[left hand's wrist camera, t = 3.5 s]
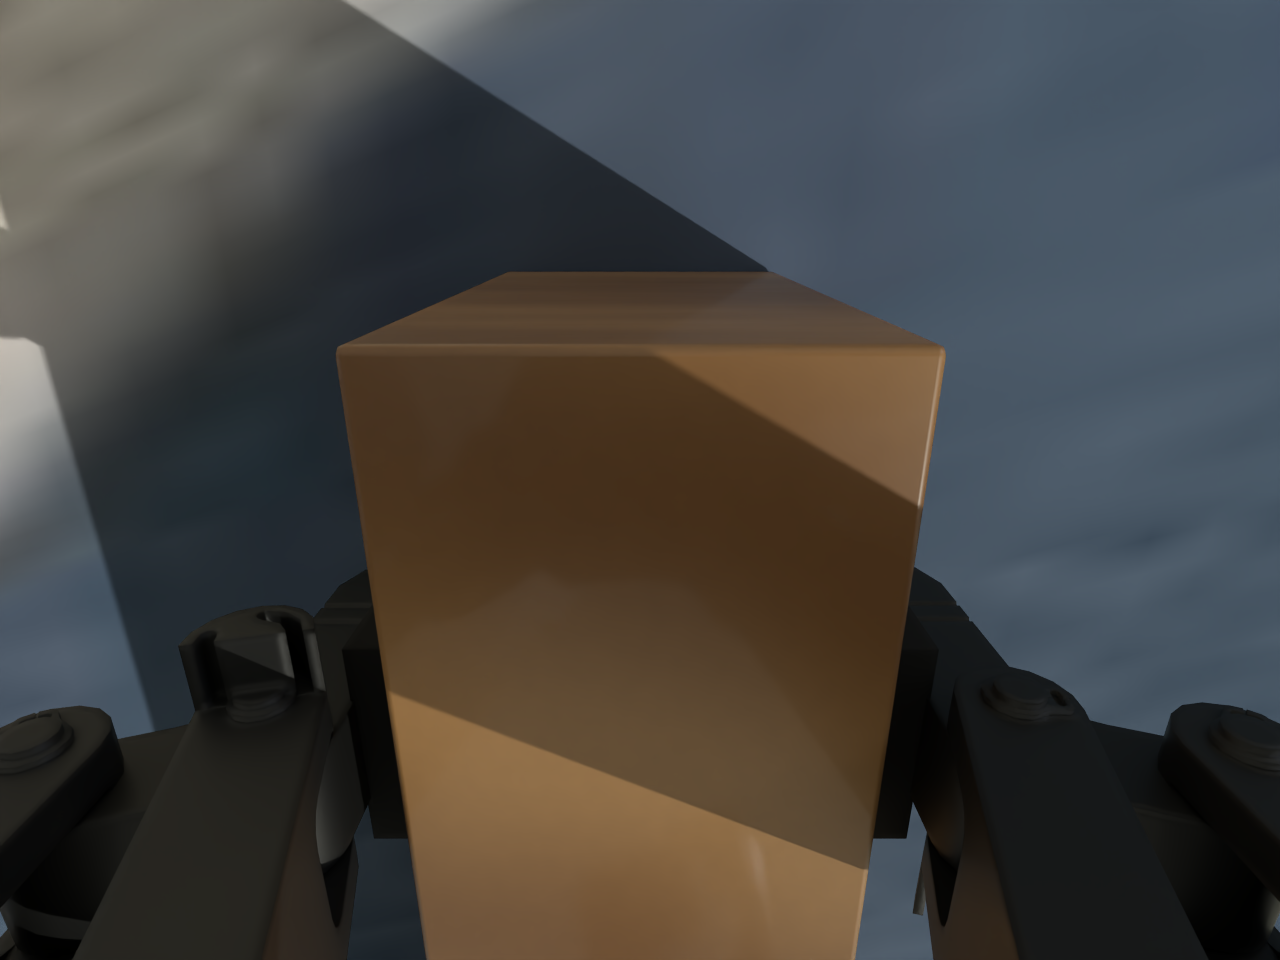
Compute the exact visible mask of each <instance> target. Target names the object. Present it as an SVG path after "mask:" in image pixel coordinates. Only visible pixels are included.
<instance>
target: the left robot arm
mask: <svg viewBox="0 0 1280 960" xmlns="http://www.w3.org/2000/svg"><path fill="white" fill-rule="evenodd" d="M178 647H179V651H180V655H181V658H182V662H183V666H184V670H185V673H186V677H187V681H188V685H189V688H190V692H191V696H192V700H193V704H194V707H195V713H194V715H193V717H192V719H191V721H190V723H189V724H187V725H183V726H179V727H176V728H171V729H166V730H161V731H156V732H151V733H146V734H141V735H136V736H131V737H126V738H121V739H117V735H116V732H115V729H114V726H113V723H112V720H111V717H110V716H109V715H107V714H106V713H105V712H104V711H102V710H101V709H100V708H93V707H85V706H73V707H65V708H56V709H49V710H45V711H40V712H39V713H37V714H35V713H33V714H30V715H27V716H24V717H21V718H19V719H17V720H16V721H14V722H12V723H10V724H8V725H6V726H4V727H1V728H0V912H1V914H2V916H3V919H4V921H5V923H6V926H7V928H8V929H7V931H6V932H5V933H4V934H3V935H2V936H1V937H0V960H347V953H348V945H349V938H350V930H351V922H352V914H353V906H354V898H355V890H356V883H357V875H358V867H359V866H358V859H357V851H356V846H355V840H354V834H355V831H356V829H357V827H358V825H359V823H360V821H361V818H362V816H363V814H364V812H365V810H366V808H367V805H368V806H369V812H370V817H371V823H372V829H373V835H374V838H408V835H407V828H406V822H405V815H404V808H403V802H402V795H401V788H400V782H399V775H398V768H397V762H396V755H395V748H394V742H393V735H392V728H391V722H390V715H389V708H388V702H387V695H386V688H385V682H384V675H383V668H382V662H381V655H380V648H379V642H378V635H377V628H376V622H375V615H374V608H373V602H372V595H371V588H370V582H369V575H368V570H364V571H363V572H361V573H360V574H358V575H356V576H355V577H353V578H351V579H350V580H348V581H347V582H345V583H343V584H342V585H340V586H339V587H338V589H337V590H336V591H335V592H334V593H333V595H332V596H331V597H330V598H329V600H328V601H327V602H326V603H325V607H324V608H321V610H320V611H319V612H318V613H317V615H316V616H315V617H314V618H313V617H312V616H311V615H310V614H308V613H307V612H306V611H304V610H303V609H300V608H295V607H290V606H285V605H281V606H260V607H255V608H250V609H245V610H240V611H236V612H233V613H230V614H227V615H225V616H222V617H219V618H217V619H214V620H211V621H210V622H208V623H206V624H205V625H203V626H201V627H200V628H198V629H196V630H194V631H193V632H191V633H190V634H189V635H188V636H187V637H186V638H185V639H184V640H183V641H182V642H181V644H180V645H179V646H178ZM912 803H914V805H915V807H916V809H917V811H918V814H919V816H920V818H921V820H922V822H923V824H924V827H925V829H926V831H927V835H926V840H925V846H924V851H923V856H922V862H921V867H920V873H919V878H918V883H917V889H916V894H915V901H914V908H913V913H914V914H918V915H923V911H924V906H925V901H926V904H927V912H928V920H929V928H930V936H931V944H932V951H933V959H934V960H1280V932H1279V931H1278V930H1277V929H1276V928H1275V927H1274V925H1275V923H1276V920H1277V918H1278V916H1279V913H1280V724H1279V723H1277V722H1275V721H1272V720H1270V719H1268V718H1267V717H1265V716H1264V715H1261V714H1259V713H1256V712H1253V711H1250V710H1246V711H1245V710H1243V708H1239V707H1234V706H1229V705H1219V704H1211V703H1195V704H1187V705H1182V706H1180V707H1179V708H1178V709H1176V710H1175V711H1174V712H1173V713H1171V716H1170V719H1169V722H1168V725H1167V728H1166V731H1165V734H1164V736H1161V735H1156V734H1151V733H1146V732H1141V731H1136V730H1131V729H1126V728H1121V727H1116V726H1111V725H1106V724H1102V723H1098V722H1094V721H1090V720H1089V718H1088V716H1087V714H1086V712H1085V710H1084V709H1083V707H1082V706H1081V705H1080V704H1079V702H1078V701H1077V700H1076V699H1075V698H1074V696H1073V695H1072V694H1070V693H1069V692H1067V691H1066V690H1064V689H1063V688H1062V687H1060V686H1059V685H1057V684H1056V683H1054V682H1053V681H1050V680H1048V679H1046V678H1043V677H1041V676H1039V675H1036V674H1034V673H1032V672H1029V671H1025V670H1021V669H1016V668H1012V667H1009V666H1008V665H1007V664H1006V662H1005V661H1004V660H1003V659H1002V657H1001V656H1000V655H999V654H998V653H997V651H996V650H995V649H994V648H993V646H992V645H991V644H990V643H989V642H988V640H987V639H986V638H985V637H984V635H983V634H982V633H981V632H980V630H979V629H978V628H977V627H976V626H975V624H974V623H973V622H972V621H969V617H968V616H967V614H966V613H965V612H964V611H963V610H962V608H961V607H960V606H957V605H956V601H955V600H954V599H953V597H952V596H951V595H950V594H949V592H948V591H947V590H946V589H945V587H944V586H943V585H942V584H941V583H940V582H938V581H936V580H935V579H933V578H932V577H930V576H928V575H927V574H925V573H923V572H922V571H920V570H918V569H917V568H915V567H914V570H913V577H912V583H911V590H910V596H909V603H908V610H907V616H906V623H905V630H904V636H903V643H902V649H901V656H900V663H899V669H898V676H897V683H896V689H895V696H894V702H893V709H892V716H891V722H890V729H889V736H888V742H887V749H886V755H885V762H884V769H883V775H882V782H881V789H880V795H879V802H878V808H877V815H876V822H875V828H874V835H873V838H894V839H906V838H907V832H908V826H909V820H910V814H911V809H912Z"/></svg>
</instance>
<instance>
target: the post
mask: <svg viewBox="0 0 1280 960" xmlns="http://www.w3.org/2000/svg"><path fill="white" fill-rule="evenodd" d="M945 358H946V354H945V349H944V347H943V346H941V345H938V344H936V343H934V342H932V341H929V340H927V339H925V338H922V337H920V336H918V335H915V334H913V333H911V332H909V331H906V330H904V329H902V328H899V327H897V326H895V325H893V324H890V323H888V322H886V321H883V320H881V319H879V318H877V317H874V316H872V315H870V314H867V313H865V312H863V311H860V310H858V309H856V308H854V307H851V306H849V305H847V304H844V303H842V302H840V301H838V300H835V299H833V298H831V297H828V296H826V295H824V294H822V293H819V292H817V291H815V290H812V289H810V288H808V287H805V286H803V285H801V284H799V283H796V282H794V281H792V280H789V279H787V278H785V277H783V276H780V275H778V274H776V273H773V272H507V273H505V274H502V275H500V276H498V277H496V278H493V279H491V280H489V281H487V282H484V283H482V284H480V285H477V286H475V287H473V288H471V289H468V290H466V291H464V292H461V293H459V294H457V295H455V296H452V297H450V298H448V299H445V300H443V301H441V302H439V303H436V304H434V305H432V306H430V307H427V308H425V309H423V310H420V311H418V312H416V313H414V314H411V315H409V316H407V317H404V318H402V319H400V320H398V321H395V322H393V323H391V324H389V325H386V326H384V327H382V328H379V329H377V330H375V331H373V332H370V333H368V334H366V335H363V336H361V337H359V338H357V339H354V340H352V341H350V342H347V343H345V344H343V345H341V346H338V348H337V351H336V362H337V368H338V375H339V382H340V388H341V395H342V402H343V408H344V415H345V422H346V428H347V435H348V442H349V448H350V455H351V462H352V468H353V475H354V482H355V488H356V495H357V502H358V508H359V515H360V522H361V528H362V535H363V542H364V548H365V555H366V562H367V568H368V575H369V582H370V588H371V595H372V602H373V608H374V615H375V622H376V628H377V635H378V642H379V648H380V655H381V662H382V668H383V675H384V682H385V688H386V695H387V702H388V708H389V715H390V722H391V728H392V735H393V742H394V748H395V755H396V762H397V768H398V775H399V782H400V788H401V795H402V802H403V808H404V815H405V822H406V828H407V835H408V842H409V848H410V855H411V862H412V868H413V875H414V882H415V888H416V895H417V902H418V908H419V915H420V922H421V928H422V935H423V942H424V948H425V955H426V960H855V954H856V948H857V941H858V934H859V928H860V921H861V914H862V908H863V901H864V895H865V888H866V881H867V875H868V868H869V861H870V855H871V848H872V842H873V835H874V828H875V822H876V815H877V808H878V802H879V795H880V789H881V782H882V775H883V769H884V762H885V755H886V749H887V742H888V736H889V729H890V722H891V716H892V709H893V702H894V696H895V689H896V683H897V676H898V669H899V663H900V656H901V649H902V643H903V636H904V630H905V623H906V616H907V610H908V603H909V596H910V590H911V583H912V577H913V570H914V563H915V557H916V550H917V543H918V537H919V530H920V524H921V517H922V510H923V504H924V497H925V490H926V484H927V477H928V470H929V464H930V457H931V451H932V444H933V437H934V431H935V424H936V417H937V411H938V404H939V398H940V391H941V384H942V378H943V371H944V364H945Z"/></svg>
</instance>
